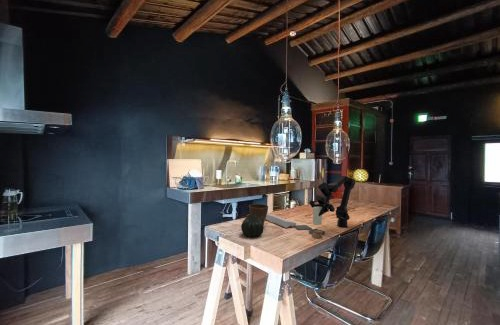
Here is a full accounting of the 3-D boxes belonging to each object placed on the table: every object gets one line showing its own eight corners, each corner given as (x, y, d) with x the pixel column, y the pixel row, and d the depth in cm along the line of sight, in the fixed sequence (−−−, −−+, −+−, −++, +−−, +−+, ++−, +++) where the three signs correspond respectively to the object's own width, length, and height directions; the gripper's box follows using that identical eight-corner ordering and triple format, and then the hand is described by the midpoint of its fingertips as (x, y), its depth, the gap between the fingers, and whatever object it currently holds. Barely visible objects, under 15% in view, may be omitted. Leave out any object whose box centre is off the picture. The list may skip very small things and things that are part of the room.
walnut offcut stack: (316, 236, 172) (316, 229, 172) (322, 238, 168) (322, 231, 168) (311, 237, 168) (311, 230, 168) (318, 239, 164) (318, 232, 164)
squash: (266, 231, 161) (262, 210, 170) (243, 233, 158) (241, 212, 167) (262, 240, 171) (259, 220, 181) (241, 242, 168) (238, 221, 178)
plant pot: (267, 224, 197) (268, 204, 197) (267, 230, 182) (268, 208, 182) (249, 223, 199) (249, 203, 198) (247, 228, 184) (247, 207, 184)
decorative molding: (270, 219, 221) (260, 218, 216) (271, 214, 222) (262, 212, 217) (295, 229, 192) (285, 227, 187) (296, 223, 192) (286, 221, 187)
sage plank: (317, 223, 180) (317, 206, 179) (321, 224, 177) (322, 207, 176) (312, 224, 177) (313, 207, 176) (317, 225, 173) (317, 208, 173)
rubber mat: (306, 225, 196) (306, 224, 196) (312, 229, 186) (312, 228, 186) (293, 226, 194) (293, 225, 194) (298, 230, 184) (298, 229, 184)
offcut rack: (316, 231, 182) (316, 228, 182) (325, 233, 176) (325, 231, 176) (308, 233, 177) (308, 230, 177) (317, 236, 171) (317, 233, 171)
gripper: (310, 189, 186) (300, 205, 179) (333, 192, 171) (323, 210, 165) (317, 199, 191) (307, 215, 184) (338, 203, 176) (329, 220, 170)
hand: (316, 215), depth 176 cm, fingers closed on sage plank, 4 cm apart
